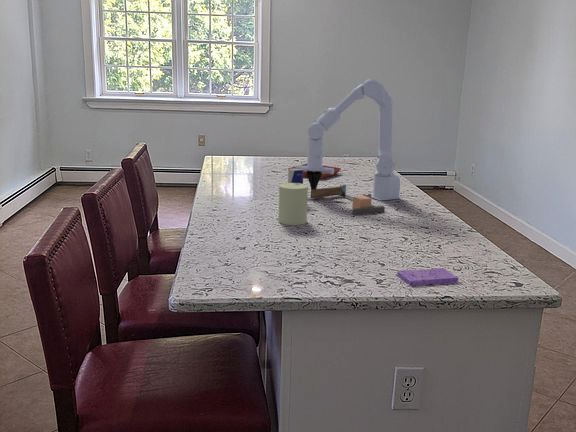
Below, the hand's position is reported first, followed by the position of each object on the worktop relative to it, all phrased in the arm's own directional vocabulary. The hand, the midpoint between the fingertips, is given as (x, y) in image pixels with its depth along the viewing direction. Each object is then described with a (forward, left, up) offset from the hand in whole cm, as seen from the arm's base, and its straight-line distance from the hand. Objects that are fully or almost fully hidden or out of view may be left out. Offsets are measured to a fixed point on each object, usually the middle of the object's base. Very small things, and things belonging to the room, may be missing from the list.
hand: (313, 191), depth 229 cm
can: (+25, +31, -2) cm, 40 cm away
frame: (-10, +13, -1) cm, 17 cm away
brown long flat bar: (-2, +6, -1) cm, 6 cm away
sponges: (+19, +89, -2) cm, 91 cm away
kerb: (-4, +31, -1) cm, 31 cm away
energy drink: (+12, +8, -2) cm, 15 cm away
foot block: (-4, +27, -2) cm, 27 cm away
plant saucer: (-21, -36, -2) cm, 42 cm away
